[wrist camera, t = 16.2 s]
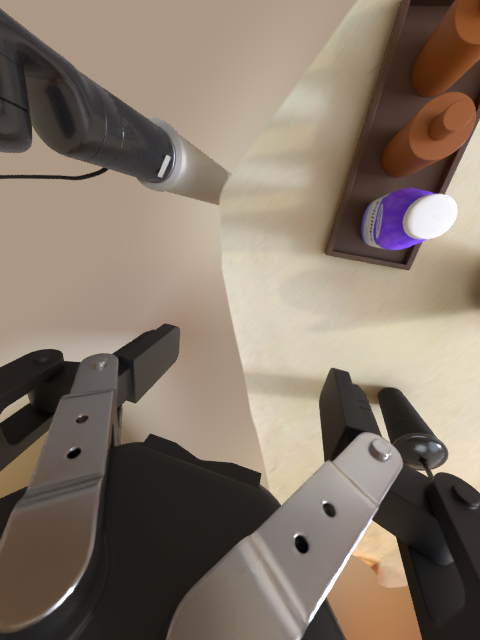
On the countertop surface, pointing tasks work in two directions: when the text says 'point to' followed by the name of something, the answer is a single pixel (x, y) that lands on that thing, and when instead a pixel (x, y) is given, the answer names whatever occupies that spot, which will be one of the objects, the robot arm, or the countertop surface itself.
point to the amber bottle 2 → (430, 134)
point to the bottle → (406, 218)
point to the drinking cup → (410, 433)
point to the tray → (384, 123)
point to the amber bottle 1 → (448, 50)
